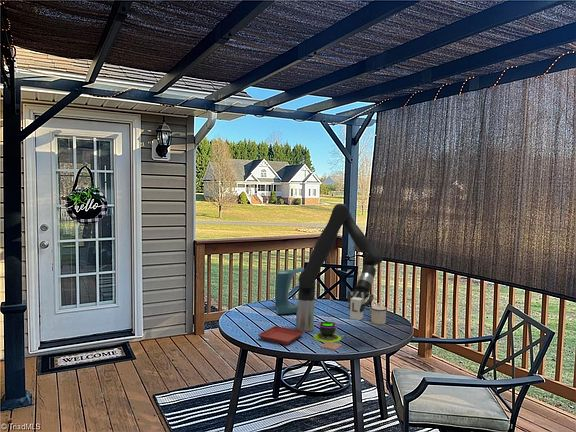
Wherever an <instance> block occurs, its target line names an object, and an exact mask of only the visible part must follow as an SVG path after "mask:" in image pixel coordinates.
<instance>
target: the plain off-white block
mask: <svg viewBox="0 0 576 432" xmlns="http://www.w3.org/2000/svg"><path fill="white" fill-rule="evenodd" d="M362 301H363V299H362V298H358V297H353V296H352V297H351V303H349V304H350V310H349V311H350V312H349V319H351V320H358V321H360V320H362V319H363V317H364V311H363V312H362V313H361V312H360V307H361V304H362Z"/></svg>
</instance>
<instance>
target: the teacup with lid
mask: <svg viewBox="0 0 576 432" xmlns="http://www.w3.org/2000/svg"><path fill="white" fill-rule="evenodd" d="M369 314H370V316H371V318H370V322H371V323H372V324H374V325H385V324H386V321H387V319H386V318H387V307H386V306H383V305H382V303H381V302H378V303H377V304H376V305H372V306H371V308H370V309H369Z"/></svg>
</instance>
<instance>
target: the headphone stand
mask: <svg viewBox="0 0 576 432" xmlns="http://www.w3.org/2000/svg"><path fill="white" fill-rule="evenodd" d="M304 269H305V267H304V268H303V267H297V268H295V269H283V270H282V269H281V270H276V278H275V279H276V283H275V299H274V304H275V305H274V306H275V309H274V310H275V312H276V314H277V315H289V314H290V315H291V314H296V313H297V312H298V304H296V303H295V304H293V303H290V301H289V293H290V287H291V283H292V280H293V278H294V276H295V274H301V272H302V271H304ZM315 304H316V303H315ZM315 304H314V306H315Z"/></svg>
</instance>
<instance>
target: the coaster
mask: <svg viewBox="0 0 576 432" xmlns="http://www.w3.org/2000/svg"><path fill="white" fill-rule="evenodd" d="M342 347H343V344H341V343H337V342H328V341H327V342H323V344H320V348H322V349H326V350H330V351H335V352H336V351H337V350H338V349H340V348H342Z"/></svg>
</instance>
